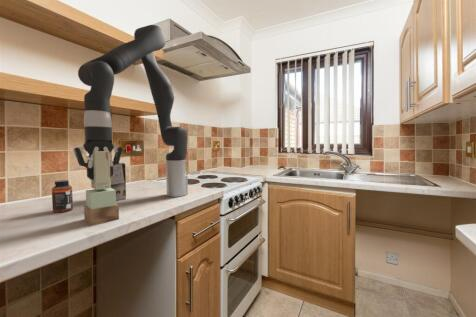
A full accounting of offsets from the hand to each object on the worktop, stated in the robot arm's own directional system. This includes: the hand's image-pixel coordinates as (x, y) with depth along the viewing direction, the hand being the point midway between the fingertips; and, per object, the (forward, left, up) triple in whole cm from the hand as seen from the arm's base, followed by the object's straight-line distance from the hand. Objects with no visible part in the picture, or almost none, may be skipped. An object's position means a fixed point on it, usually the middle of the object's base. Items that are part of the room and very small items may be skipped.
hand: (100, 178), depth 72 cm
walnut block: (0, 0, -14) cm, 14 cm away
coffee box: (-14, -27, -14) cm, 33 cm away
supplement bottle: (+7, -21, -14) cm, 26 cm away
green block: (0, 0, -9) cm, 9 cm away
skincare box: (0, 0, -4) cm, 4 cm away
